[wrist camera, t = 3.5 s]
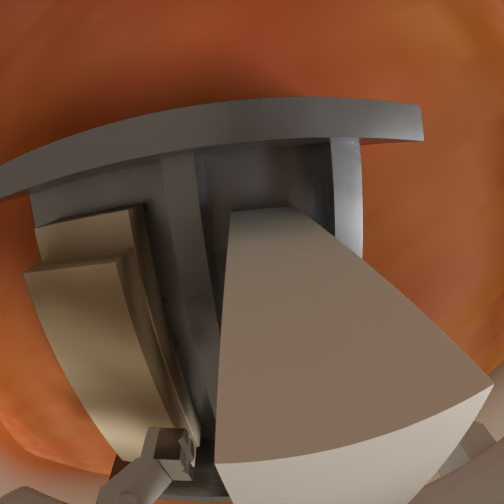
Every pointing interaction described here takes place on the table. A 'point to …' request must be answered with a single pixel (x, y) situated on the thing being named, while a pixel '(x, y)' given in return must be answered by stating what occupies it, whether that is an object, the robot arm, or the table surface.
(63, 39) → the table surface
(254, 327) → the cream slab
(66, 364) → the offcut stack
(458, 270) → the table surface
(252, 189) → the rack
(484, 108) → the table surface
